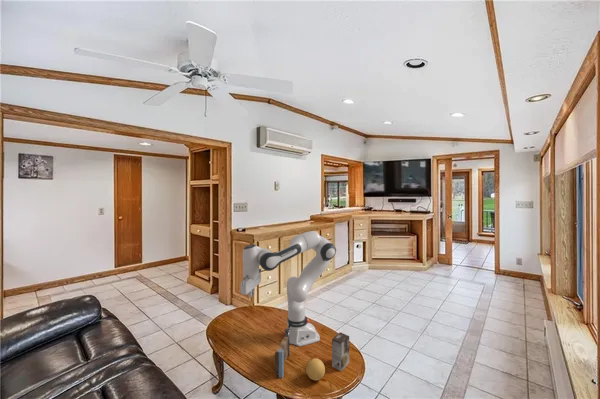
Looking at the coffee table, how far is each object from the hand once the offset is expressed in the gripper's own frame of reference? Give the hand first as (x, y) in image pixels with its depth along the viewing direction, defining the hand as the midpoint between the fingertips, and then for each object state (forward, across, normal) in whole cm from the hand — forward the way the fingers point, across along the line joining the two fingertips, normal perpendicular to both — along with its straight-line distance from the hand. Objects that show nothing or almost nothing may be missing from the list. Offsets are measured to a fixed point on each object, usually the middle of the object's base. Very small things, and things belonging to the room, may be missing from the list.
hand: (251, 296), depth 160 cm
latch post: (+37, -11, -22) cm, 44 cm away
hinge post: (+37, +6, -19) cm, 42 cm away
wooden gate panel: (+36, -4, -19) cm, 41 cm away
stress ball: (+38, -8, -40) cm, 55 cm away
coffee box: (+38, +6, -51) cm, 64 cm away
